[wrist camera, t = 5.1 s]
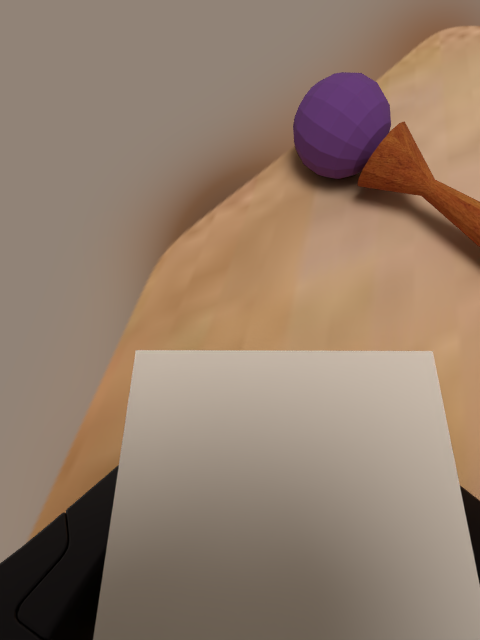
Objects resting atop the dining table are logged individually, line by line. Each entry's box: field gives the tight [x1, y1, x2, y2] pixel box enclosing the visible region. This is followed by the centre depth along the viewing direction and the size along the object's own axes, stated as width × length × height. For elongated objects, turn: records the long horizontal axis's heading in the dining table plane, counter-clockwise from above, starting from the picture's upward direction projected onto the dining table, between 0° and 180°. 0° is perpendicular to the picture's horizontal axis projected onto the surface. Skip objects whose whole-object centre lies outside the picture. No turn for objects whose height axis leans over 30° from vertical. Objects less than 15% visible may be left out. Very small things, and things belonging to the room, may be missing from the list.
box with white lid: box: [93, 350, 480, 640], centre depth 9 cm, size 4×4×11 cm
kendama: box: [293, 72, 480, 247], centre depth 21 cm, size 6×6×20 cm
